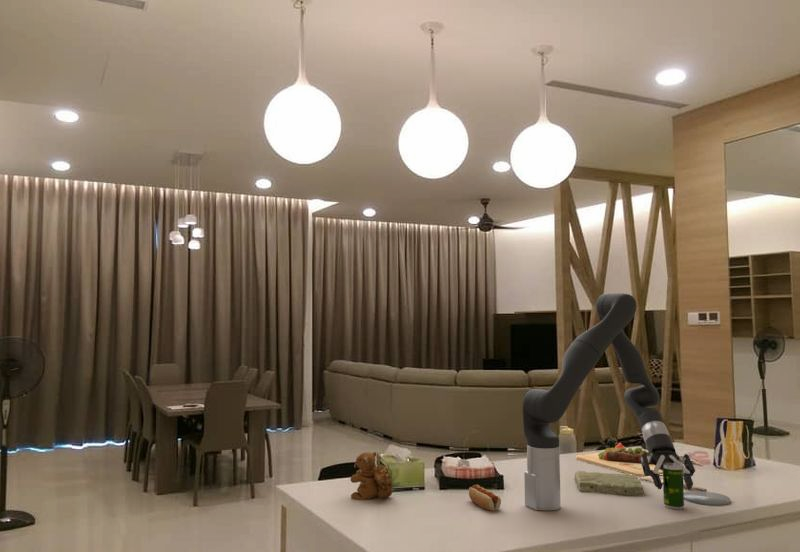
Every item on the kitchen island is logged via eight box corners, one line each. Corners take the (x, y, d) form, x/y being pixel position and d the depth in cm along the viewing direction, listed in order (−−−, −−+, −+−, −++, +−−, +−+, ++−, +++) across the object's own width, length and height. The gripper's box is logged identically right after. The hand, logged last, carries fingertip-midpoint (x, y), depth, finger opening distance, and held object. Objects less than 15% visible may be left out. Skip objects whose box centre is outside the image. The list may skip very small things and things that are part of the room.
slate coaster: (706, 507, 181) (706, 504, 181) (672, 495, 193) (672, 493, 193) (740, 502, 186) (740, 500, 186) (705, 491, 198) (705, 489, 198)
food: (464, 500, 188) (464, 483, 189) (481, 499, 190) (481, 482, 191) (487, 513, 175) (487, 495, 176) (504, 511, 177) (504, 493, 178)
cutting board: (573, 460, 248) (572, 440, 249) (618, 455, 258) (618, 436, 258) (641, 479, 216) (640, 457, 217) (690, 473, 226) (689, 451, 227)
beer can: (679, 504, 184) (677, 462, 185) (687, 509, 179) (686, 466, 180) (660, 504, 184) (659, 462, 185) (668, 509, 179) (667, 466, 180)
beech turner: (711, 492, 198) (710, 488, 198) (699, 494, 195) (698, 490, 195) (651, 477, 217) (651, 473, 217) (639, 479, 214) (639, 476, 214)
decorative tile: (574, 480, 215) (574, 469, 215) (636, 483, 211) (636, 472, 211) (577, 494, 197) (577, 482, 197) (646, 498, 193) (645, 486, 193)
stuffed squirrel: (363, 490, 200) (363, 448, 201) (402, 496, 193) (402, 452, 194) (345, 497, 191) (345, 453, 192) (385, 504, 184) (385, 458, 185)
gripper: (637, 432, 191) (654, 480, 178) (684, 432, 191) (704, 480, 178) (631, 447, 195) (647, 494, 183) (677, 447, 195) (696, 494, 183)
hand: (675, 487), depth 181 cm, fingers open, 8 cm apart
